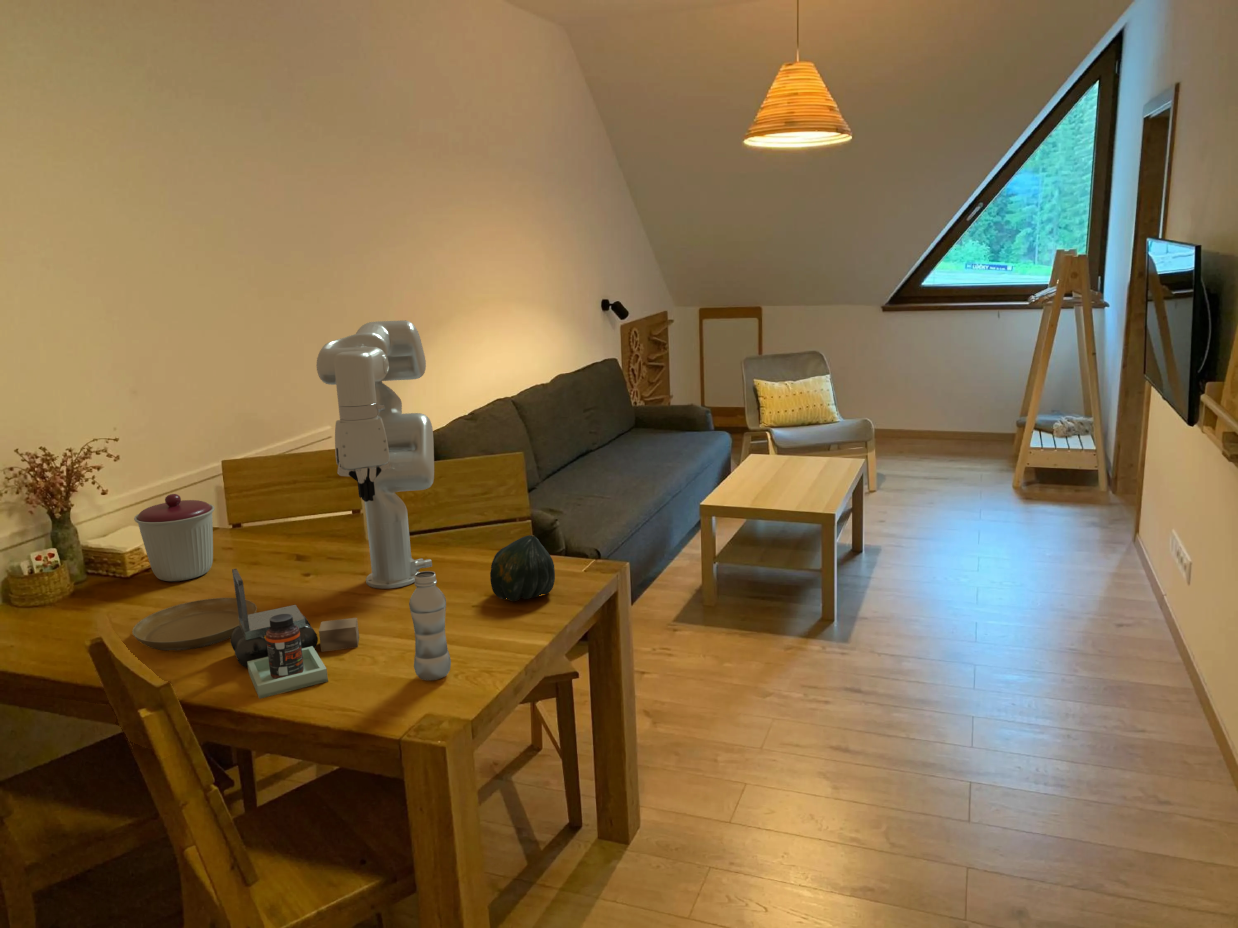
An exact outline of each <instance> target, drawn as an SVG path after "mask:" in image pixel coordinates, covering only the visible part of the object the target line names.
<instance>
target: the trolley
mask: <svg viewBox="0 0 1238 928" xmlns="http://www.w3.org/2000/svg"><path fill="white" fill-rule="evenodd" d="M231 574H232V578H233V579H232V580H233V585H234V592H235V598H236V602H237V609H238V616H239V617H238V621H239V626H238V627H236V628H235V629H234V630H233V632H232V633H231V637H230V638H229V643H230V646H231V648H232V650H233V651H234V654H235V658H236V660H237V662H238V663H239V664H240V665H241V666H242V667H244V668H246V669H248V664H247V661H251V660H256V659H260V658H264V657H268V650H267V642H266V632H267V630H268V629H269V628H270V627H271V626H270V618H271V617H273V616H275V615H279V614H291V615H292V617H293V623H294V624H295V625H297V626H298V627H299V630H300V639H301V647H302V648H307V647H311V646H313V648H314V649H316V648H317V645H318V642H319V641H318V640H319V637H318V634H317V633H316V631H315V629H314V628H313V627H312V626H311V623H310V621H309V620H308V618H306V616H305V615H304V614H303V613H302V612H301V611H300V609H299V608H298V607H297V605H296V604H294V605H293V604H292V605H288V606H284V607H283V606H282V607H279V608H275V609H270V610H269V609H268V610H264V611H259V612H256V613H254V614H249V615H247V608H246V600H247V599H246V594H245V587H244V581H243V580H244V579H242V576H241V575H240V573H239V571H238V569H237V568H233V569H232V570H231Z"/></svg>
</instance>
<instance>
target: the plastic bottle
mask: <svg viewBox="0 0 1238 928" xmlns="http://www.w3.org/2000/svg"><path fill="white" fill-rule="evenodd" d="M414 578H415V582H414V586H415V587H416V588H415V590H414V591H413V593H412V594H411V597H410V598H409V603H408V605H409V610H410V615H411V619H412V624H413V630H414V637H415V638H414V639H415V640H414V641H415V643H414V651H415V652H414V653H415V654H414V658H413V659H414V660H413V669H414V672H415V674H416V676H417V677H418V678H419V679H420V680H422V681H436V680H440V679H443V678H445V677H446V676H447V675H448V674H449V672H450V671H451V668H452V667H451V665H452V660H451V655H450V652H449V650H448V649H449V648H448V643H447V635H446V610H447V609H446V608H447V599H446V596H445V594H444V593H443V591H441V589H440V588H439V587H438V586H437V583H438V580H437V577H436V572H435V571H432V570H425V571H419V573H416V574H415V575H414Z"/></svg>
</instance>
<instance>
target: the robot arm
mask: <svg viewBox="0 0 1238 928" xmlns="http://www.w3.org/2000/svg"><path fill="white" fill-rule="evenodd" d="M426 362H427V361H426V356H425V351H424V348H423V343H422V339H421V336H420V333H419V331H418V329H417V327H416V326H415V325H414V323H413V322H411V321H409V320H403V319H402V320H382V321H381V320H380V321H379V320H378V321H371V322H370V321H369V322H367V323H364V324H362V325H361V326H360V327H359V328H358V330H357V331H356V332H355V333H354V334H351V335H348V336H346V337H342V338H339V339H335V340H332V341H329V342H327V343H325V344H324V345H323V346H322V347H321V348H320V350H319V352H318V355H317V357H316V366H315V367H316V372H317V374H318V375H317V376H318V377H319V379H320V380H321V382H322V383H323V384H325V385H331V386H334V385H335V387H336V395H337V404H338V413H339V414H338V415H339V416H338V417H339V419H338V420H336V421H335V426H334V427H335V429H334V449H335V450H334V451H335V462H336V465H337V474H338V475H339V476H340V477H350V478H352V479H353V480H354V481H356V482H357V490H358V496H359V498H361V500H362V501H364V509H365V516H366V517H365V518H366V527H367V538H368V545H369V546H368V547H369V555H370V556H369V557H370V558H369V559H370V566H371V573H369V574H368V575H367V576H366V578H365V581H366V582H365V583H366V585H367V586H369V587H371V588H372V589H373V588H374V589H379V590H380V589H383V590H384V589H385V590H386V589H396V588H402V587H405V586H409V585H411V584H415V578H414V575H415V574H416V573H419V572H420V569H426V568H430V567H433V562H432V559H430V558H428V559H427V558H426V559H424V558H422V557H421V558H417V559H414V558H413V557H412V552H411V551H412V550H411V549H412V548H411V541H410V540H411V538H410V529H409V527H410V526H409V518H408V509H407V506H406V504H405V502H404V501H403V499H401V497H399V495H398V494H396V493H398V492H409V491H410V492H411V491H424V490H426V489H427V490H428V489H429V488H431V487H432V485H433V484H434V481H435V480H434V479H435V448H434V446H435V444H434V442H435V441H434V440H435V439H434V430H433V425H432V421H431V419H430V417H428V415H426V414H424V413H421V412H411V413H409V412H407V413H403V410H402V409H403V403H402V400H401V398H400V397H399V395H398V393H396V392H395V391H394V390H393V389H392V388H391V387H390V386H388V385H387V384H385V383H384V382H386V381H387V382H389V381H390V382H392V381H393V382H394V381H410V380H417V379H418V380H419V379H420V378H422V377H423V376H424V375H425V372H426V367H427V363H426Z"/></svg>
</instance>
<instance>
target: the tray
mask: <svg viewBox="0 0 1238 928" xmlns="http://www.w3.org/2000/svg"><path fill="white" fill-rule="evenodd" d="M315 649H316V648H315ZM315 649H314V648H313V646H311V647H307V648H302V656H303V664H304V670H303V672H302V673H298V674H294V675H290V676H286V677H282V678H278V679H274V678H272V677H271V674H270V667H269V659H268V657H264V658H260V659H256V660H251V661H247V664H248V668H247V670H248V675H249V678H250V679H251V682H252V684H253V688H254V689H255V692H256V693H257V697H258V699H259V700H261V699H264V698H268V697H273V696H275V695H280V694H285V693H288V692H293V691H296V690H299V689H303V688H307V687H312V686H315V685H318V684H319V685H320V684H323V683H327V682H329V677H328V669H327V667H326V666H325V663H324V662H323V660H322V658H320V656H319V654H318V652H317V650H315Z"/></svg>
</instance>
